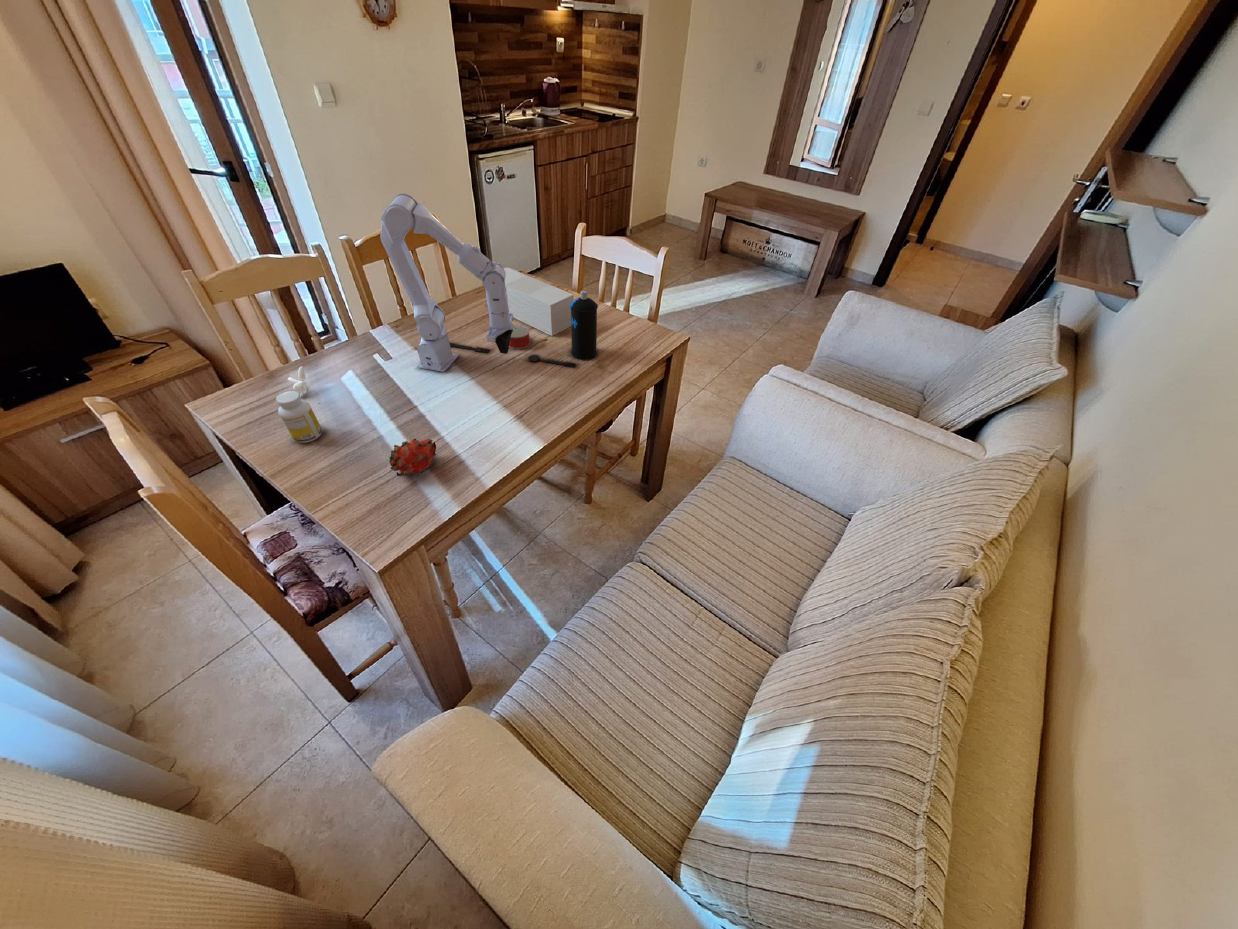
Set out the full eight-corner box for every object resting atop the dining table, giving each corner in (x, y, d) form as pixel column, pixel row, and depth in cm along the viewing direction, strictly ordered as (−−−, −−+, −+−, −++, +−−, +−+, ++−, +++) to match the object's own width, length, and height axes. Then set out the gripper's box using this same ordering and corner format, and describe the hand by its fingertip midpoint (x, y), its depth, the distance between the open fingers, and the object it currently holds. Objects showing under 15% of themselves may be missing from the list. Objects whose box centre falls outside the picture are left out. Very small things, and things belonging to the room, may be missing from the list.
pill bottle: (315, 423, 120) (295, 385, 112) (328, 434, 117) (309, 396, 109) (288, 435, 116) (266, 397, 108) (301, 447, 113) (279, 408, 105)
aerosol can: (598, 347, 153) (599, 286, 139) (595, 361, 147) (596, 299, 133) (573, 345, 153) (572, 284, 139) (568, 358, 147) (567, 296, 133)
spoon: (573, 369, 143) (573, 367, 143) (526, 361, 145) (526, 359, 145) (577, 363, 146) (577, 361, 145) (530, 355, 148) (530, 353, 147)
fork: (487, 353, 147) (487, 352, 147) (442, 346, 149) (442, 345, 149) (490, 350, 149) (490, 348, 149) (446, 342, 151) (445, 341, 151)
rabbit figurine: (289, 400, 126) (281, 375, 128) (303, 404, 130) (295, 379, 132) (305, 389, 125) (297, 364, 127) (318, 393, 128) (311, 368, 130)
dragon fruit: (392, 487, 108) (436, 464, 116) (409, 484, 102) (454, 460, 110) (373, 453, 106) (420, 432, 114) (389, 448, 100) (437, 426, 108)
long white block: (574, 324, 163) (573, 294, 156) (552, 336, 157) (550, 305, 149) (510, 296, 177) (507, 266, 169) (488, 305, 170) (483, 275, 163)
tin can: (525, 350, 149) (523, 338, 147) (501, 347, 150) (500, 335, 148) (533, 338, 155) (532, 327, 152) (511, 335, 156) (509, 323, 153)
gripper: (501, 323, 129) (507, 366, 138) (521, 300, 139) (525, 342, 148) (477, 319, 130) (484, 363, 139) (498, 297, 140) (504, 339, 149)
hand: (504, 352), depth 144 cm, fingers closed
